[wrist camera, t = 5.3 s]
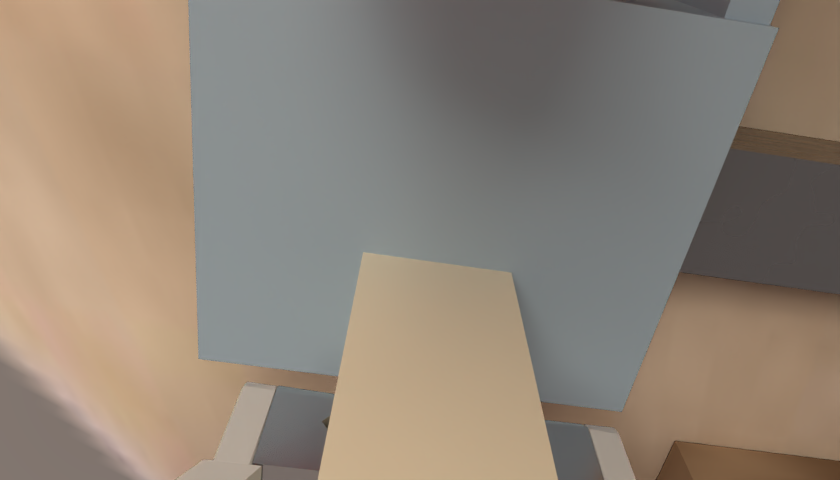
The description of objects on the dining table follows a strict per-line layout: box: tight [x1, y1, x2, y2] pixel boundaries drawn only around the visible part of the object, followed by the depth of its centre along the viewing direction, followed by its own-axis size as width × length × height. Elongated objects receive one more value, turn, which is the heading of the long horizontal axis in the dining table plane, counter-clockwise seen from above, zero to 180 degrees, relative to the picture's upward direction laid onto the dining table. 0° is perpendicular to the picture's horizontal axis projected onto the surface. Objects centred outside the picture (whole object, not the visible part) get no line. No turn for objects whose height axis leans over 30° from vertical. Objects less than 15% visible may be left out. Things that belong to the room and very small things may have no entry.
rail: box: [679, 127, 840, 294], centre depth 14 cm, size 22×3×2 cm, turn 81°
